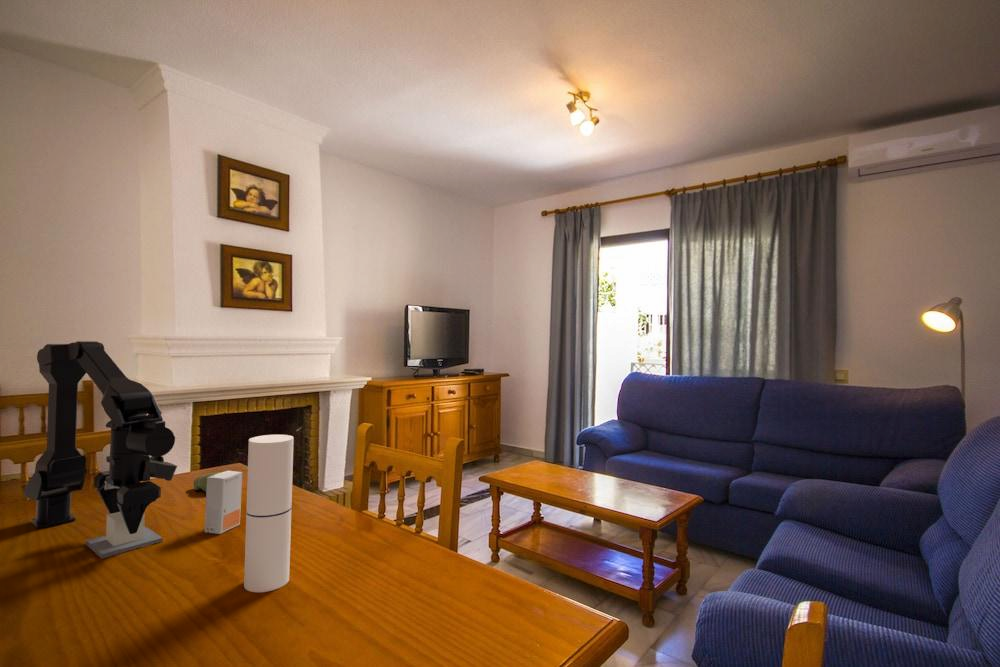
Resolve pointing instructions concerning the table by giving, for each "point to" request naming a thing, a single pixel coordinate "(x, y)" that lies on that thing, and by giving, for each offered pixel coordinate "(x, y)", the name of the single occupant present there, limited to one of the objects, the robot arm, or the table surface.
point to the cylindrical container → (268, 512)
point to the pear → (202, 482)
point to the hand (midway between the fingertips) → (125, 527)
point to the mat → (108, 549)
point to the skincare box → (223, 501)
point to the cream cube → (121, 530)
